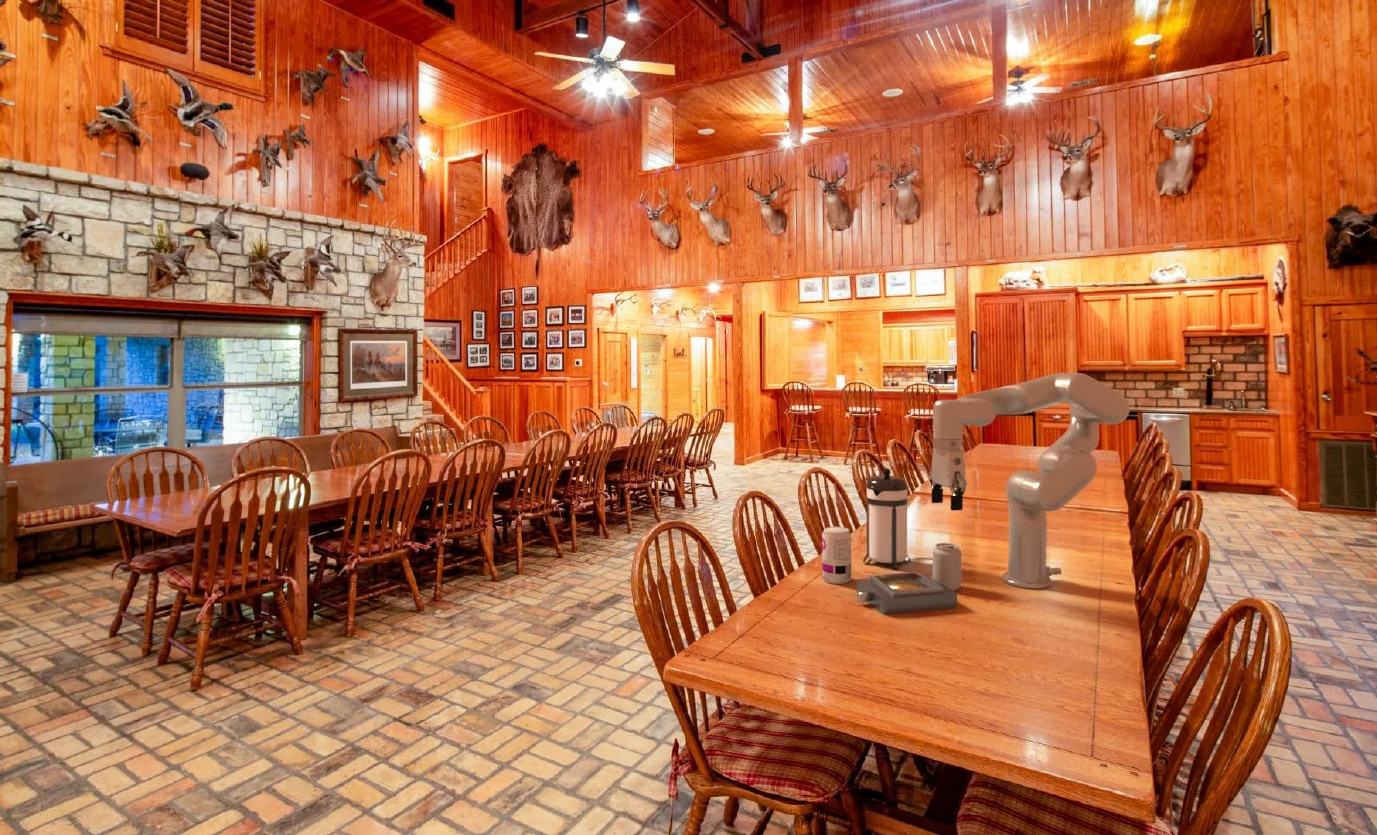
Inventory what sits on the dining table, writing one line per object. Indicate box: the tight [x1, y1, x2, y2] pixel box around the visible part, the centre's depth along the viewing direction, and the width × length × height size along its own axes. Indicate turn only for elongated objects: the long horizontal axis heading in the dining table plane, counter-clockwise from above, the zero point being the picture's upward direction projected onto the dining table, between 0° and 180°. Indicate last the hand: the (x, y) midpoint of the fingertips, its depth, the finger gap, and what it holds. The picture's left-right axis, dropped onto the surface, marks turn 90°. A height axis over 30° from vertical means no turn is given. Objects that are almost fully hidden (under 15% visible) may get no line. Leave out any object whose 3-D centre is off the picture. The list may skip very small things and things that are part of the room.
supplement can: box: [821, 526, 852, 585], centre depth 195 cm, size 8×8×15 cm
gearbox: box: [856, 571, 958, 616], centre depth 178 cm, size 23×16×5 cm
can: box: [932, 542, 962, 592], centre depth 187 cm, size 8×8×12 cm
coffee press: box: [862, 467, 912, 570], centre depth 212 cm, size 17×16×30 cm
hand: (946, 506), depth 186 cm, fingers open, 9 cm apart
